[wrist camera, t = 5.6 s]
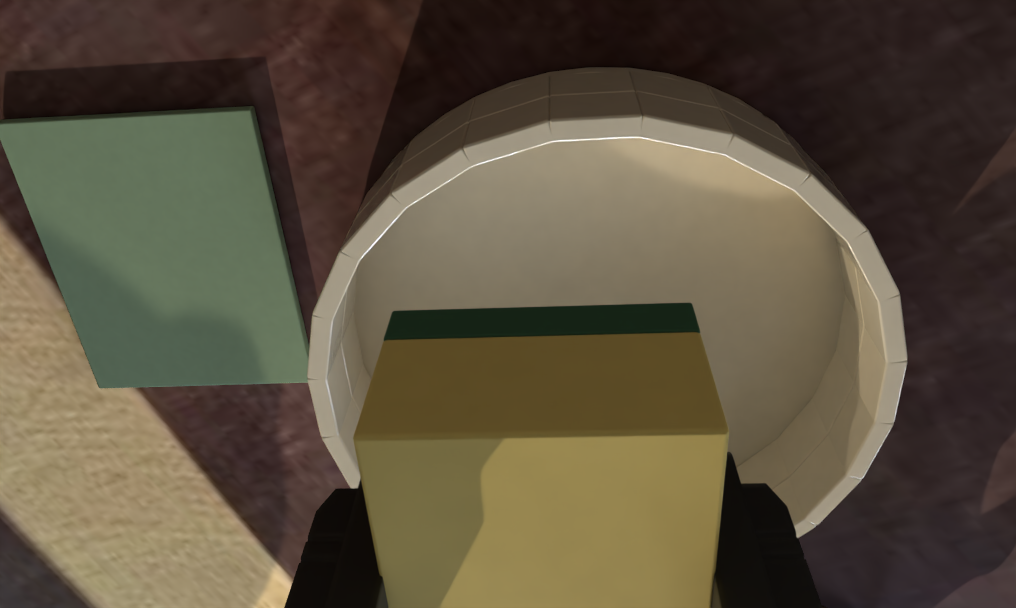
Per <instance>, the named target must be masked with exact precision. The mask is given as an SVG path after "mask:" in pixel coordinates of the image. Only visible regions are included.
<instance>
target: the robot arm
mask: <svg viewBox="0 0 1016 608" xmlns="http://www.w3.org/2000/svg"><path fill="white" fill-rule="evenodd" d="M284 608H388V602H387V597H386V592H385V587H384V581H383V576H380V574H379V570H378V565H377V559H376V554H375V549H374V544H373V539H372V534H371V528H370V523H369V518H368V513H367V508H366V503H365V497H364V492H363V487H362V482H361V479H360V482H359V486H358V488H352V489H335V490H334V492H333V493H332V494H331V495H330V496H329V497H328V498H327V500H326V501H325V502H324V503H323V504H322V505H321V507H320V508H319V509H318V510H317V511H316V514H315V517H314V520H313V523H312V526H311V529H310V532H309V535H308V542H306V544H305V547H304V550H303V553H302V556H301V563H299V565H298V568H297V571H296V574H295V577H294V580H293V583H292V586H291V589H290V592H289V595H288V598H287V601H286V604H285V607H284ZM711 608H822V605H821V602H820V599H819V596H818V594H817V591H816V588H815V585H814V582H813V579H812V576H811V573H810V571H809V568H808V565H807V562H806V559H805V560H804V553H803V550H802V548H801V545H800V542H799V539H798V538H797V537H796V530H795V527H794V525H793V522H792V519H791V516H790V513H789V510H788V507H787V505H786V504H785V503H784V502H783V501H782V500H781V499H780V498H779V497H778V496H777V495H776V494H775V492H774V491H773V490H772V489H771V488H770V487H769V486H768V485H767V484H766V483H741V482H740V479H739V475H738V472H737V468H736V465H735V461H734V458H733V455H732V453H731V452H727V460H726V470H725V480H724V490H723V500H722V511H721V521H720V531H719V541H718V551H717V561H716V571H715V573H714V582H713V592H712V603H711Z"/></svg>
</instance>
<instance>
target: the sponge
mask: <svg viewBox="0 0 1016 608" xmlns="http://www.w3.org/2000/svg"><path fill="white" fill-rule="evenodd" d="M728 439H729V429H728V425H727V422H726V418H725V415H724V412H723V408H722V405H721V401H720V398H719V395H718V391H717V388H716V384H715V381H714V378H713V374H712V371H711V367H710V364H709V361H708V357H707V354H706V350H705V347H704V344H703V340H702V337H701V335H700V328H699V325H698V322H697V318H696V315H695V311H694V308H693V305H692V303H655V304H619V305H583V306H547V307H511V308H475V309H439V310H402V311H393V312H392V314H391V317H390V320H389V323H388V327H387V330H386V333H385V336H384V342H383V344H382V347H381V351H380V354H379V357H378V360H377V363H376V366H375V370H374V373H373V376H372V379H371V382H370V386H369V389H368V392H367V395H366V398H365V401H364V405H363V408H362V411H361V414H360V417H359V421H358V424H357V427H356V430H355V433H354V436H353V440H354V446H355V451H356V456H357V461H358V466H359V472H360V477H361V482H362V487H363V492H364V497H365V503H366V508H367V513H368V518H369V523H370V528H371V534H372V539H373V544H374V549H375V554H376V559H377V565H378V570H379V574H380V576H383V581H384V587H385V592H386V597H387V602H388V608H711V603H712V592H713V582H714V573H715V571H716V561H717V551H718V541H719V531H720V521H721V511H722V500H723V490H724V480H725V470H726V460H727V450H728Z"/></svg>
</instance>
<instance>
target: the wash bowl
mask: <svg viewBox="0 0 1016 608" xmlns="http://www.w3.org/2000/svg"><path fill="white" fill-rule="evenodd" d="M655 303H692V305H693V308H694V311H695V315H696V318H697V322H698V325H699V328H700V335H701V337H702V340H703V344H704V347H705V350H706V354H707V357H708V361H709V364H710V367H711V371H712V374H713V378H714V381H715V384H716V388H717V391H718V395H719V398H720V401H721V405H722V408H723V412H724V415H725V418H726V422H727V425H728V429H729V439H728V450H727V452H731V453H732V455H733V458H734V461H735V465H736V468H737V472H738V475H739V479H740V482H741V483H766V484H767V485H768V486H769V487H770V488H771V489H772V490H773V491H774V492H775V494H776V495H777V496H778V497H779V498H780V499H781V500H782V501H783V502H784V503H785V504H786V505H787V507H788V510H789V513H790V516H791V519H792V522H793V525H794V527H795V530H796V537H797V538H799V537H801V536H802V535H804V534H805V533H807V532H808V531H810V530H812V529H813V528H815V527H816V525H818V524H819V523H820V522H821V521H822V520H823V519H824V518H825V517H826V516H827V515H828V514H829V513H830V512H831V511H832V510H833V509H834V508H835V507H836V506H837V505H838V504H839V503H840V502H841V501H842V500H843V499H844V498H845V497H846V496H847V495H848V494H849V493H850V492H851V491H852V490H853V489H854V488H855V487H856V486H857V485H858V484H859V483H860V482H861V479H863V478H864V476H865V474H866V473H867V471H868V469H869V467H870V466H871V464H872V462H873V460H874V458H875V457H876V455H877V453H878V451H879V450H880V448H881V446H882V444H883V443H884V441H885V439H886V437H887V435H888V434H889V432H890V430H891V428H892V427H893V423H894V422H895V417H896V412H897V408H898V403H899V399H900V394H901V389H902V385H903V380H904V376H905V371H906V366H907V359H908V356H907V347H906V339H905V331H904V323H903V314H902V306H901V298H900V294H899V290H898V288H897V286H896V284H895V282H894V280H893V278H892V276H891V274H890V272H889V270H888V268H887V266H886V264H885V262H884V260H883V258H882V256H881V254H880V252H879V250H878V248H877V246H876V244H875V242H874V240H873V238H872V236H871V234H870V232H869V230H868V228H867V227H866V226H865V224H864V223H863V222H862V220H861V219H860V218H859V216H858V215H857V214H856V212H855V211H854V210H853V208H852V207H851V206H850V204H849V203H848V202H847V200H846V199H845V198H844V196H843V195H842V194H841V192H840V191H839V190H838V188H837V187H836V186H835V184H834V183H833V181H832V180H831V179H830V177H829V176H828V175H827V174H826V172H825V171H824V170H823V169H822V168H821V167H820V166H819V165H818V164H817V163H816V162H815V161H814V160H813V159H812V158H811V157H810V156H809V155H808V154H807V153H806V152H805V150H804V149H803V148H802V147H801V146H800V145H799V143H798V142H797V141H796V140H795V139H794V138H792V137H791V136H790V135H789V134H788V133H786V132H785V131H784V130H783V129H782V128H781V127H780V126H779V125H778V124H776V123H775V122H774V121H772V120H771V119H770V118H769V117H767V116H765V115H764V114H762V113H761V112H759V111H757V110H756V109H754V108H753V107H751V106H749V105H748V104H746V103H745V102H743V101H741V100H740V99H738V98H736V97H734V96H731V95H729V94H727V93H724V92H722V91H720V90H718V89H715V88H713V87H711V86H709V85H706V84H704V83H700V82H697V81H693V80H690V79H686V78H683V77H679V76H676V75H672V74H669V73H663V72H656V71H649V70H642V69H635V68H619V67H587V68H578V69H570V70H562V71H554V72H548V73H544V74H540V75H536V76H532V77H528V78H524V79H521V80H517V81H513V82H510V83H508V84H505V85H503V86H500V87H498V88H495V89H493V90H490V91H488V92H485V93H483V94H480V95H478V96H476V97H474V98H472V99H470V100H469V101H467V102H465V103H463V104H462V105H460V106H458V107H456V108H455V109H453V110H451V111H449V112H447V113H446V114H444V115H443V116H441V117H440V118H439V119H438V120H436V121H435V122H434V123H432V124H431V125H430V126H428V127H427V128H426V129H424V130H423V131H422V132H421V133H419V134H418V135H417V136H415V137H414V139H413V140H412V141H411V142H410V143H409V144H408V145H407V146H406V147H405V148H404V149H403V150H402V151H401V152H400V153H399V154H398V155H397V156H396V157H395V158H394V159H393V160H392V161H391V162H390V164H389V165H388V166H387V168H386V169H385V170H384V172H383V173H382V175H381V176H380V177H379V179H378V180H377V181H376V183H375V184H374V185H373V187H372V188H371V189H370V190H369V191H368V193H367V195H366V196H365V198H364V200H363V202H362V204H361V206H360V209H359V211H358V213H357V215H356V217H355V219H354V221H353V223H352V225H351V227H350V230H349V232H348V234H347V236H346V238H345V240H344V242H343V244H342V246H341V248H340V251H339V253H338V255H337V257H336V260H335V262H334V264H333V267H332V269H331V271H330V274H329V276H328V278H327V281H326V283H325V285H324V287H323V290H322V292H321V294H320V297H319V299H318V301H317V304H316V306H315V308H314V311H313V314H312V322H311V334H310V346H309V357H308V369H307V377H308V384H309V388H310V392H311V396H312V401H313V405H314V409H315V413H316V417H317V422H318V426H319V430H320V434H321V436H322V440H323V441H324V443H325V445H326V446H327V448H328V450H329V452H330V453H331V455H332V457H333V458H334V460H335V462H336V464H337V465H338V467H339V469H340V471H341V472H342V474H343V476H344V477H345V479H346V481H347V483H348V484H349V486H350V488H351V489H352V488H358V486H359V482H360V479H361V477H360V472H359V466H358V461H357V456H356V451H355V446H354V440H353V436H354V433H355V430H356V427H357V424H358V421H359V417H360V414H361V411H362V408H363V405H364V401H365V398H366V395H367V392H368V389H369V386H370V382H371V379H372V376H373V373H374V370H375V366H376V363H377V360H378V357H379V354H380V351H381V347H382V344H383V342H384V336H385V333H386V330H387V327H388V323H389V320H390V317H391V314H392V312H393V311H402V310H439V309H475V308H511V307H547V306H583V305H619V304H655Z"/></svg>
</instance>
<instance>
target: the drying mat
mask: <svg viewBox="0 0 1016 608" xmlns="http://www.w3.org/2000/svg"><path fill="white" fill-rule="evenodd" d="M0 140H1V143H2V145H3V148H4V150H5V153H6V155H7V158H8V160H9V163H10V165H11V168H12V170H13V173H14V175H15V178H16V180H17V183H18V185H19V188H20V190H21V193H22V195H23V198H24V200H25V203H26V205H27V208H28V210H29V213H30V215H31V218H32V220H33V223H34V226H35V228H36V231H37V233H38V236H39V238H40V241H41V243H42V246H43V248H44V251H45V253H46V256H47V258H48V261H49V263H50V266H51V268H52V271H53V273H54V276H55V278H56V281H57V283H58V286H59V288H60V291H61V293H62V296H63V298H64V301H65V303H66V306H67V308H68V311H69V313H70V316H71V318H72V321H73V323H74V326H75V329H76V331H77V334H78V336H79V339H80V341H81V344H82V346H83V349H84V351H85V354H86V356H87V359H88V361H89V364H90V366H91V369H92V371H93V374H94V376H95V379H96V381H97V384H98V386H99V388H129V387H164V386H198V385H233V384H267V383H302V382H308V377H307V369H308V357H309V343H308V339H307V335H306V330H305V326H304V322H303V317H302V313H301V309H300V304H299V300H298V296H297V291H296V287H295V282H294V278H293V274H292V269H291V265H290V261H289V256H288V252H287V248H286V243H285V239H284V235H283V230H282V226H281V222H280V217H279V213H278V209H277V204H276V200H275V195H274V191H273V187H272V182H271V178H270V174H269V169H268V165H267V161H266V156H265V152H264V148H263V143H262V139H261V135H260V130H259V126H258V122H257V117H256V113H255V108H254V106H243V107H225V108H206V109H188V110H170V111H151V112H133V113H115V114H96V115H78V116H59V117H41V118H23V119H4V120H0Z"/></svg>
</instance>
